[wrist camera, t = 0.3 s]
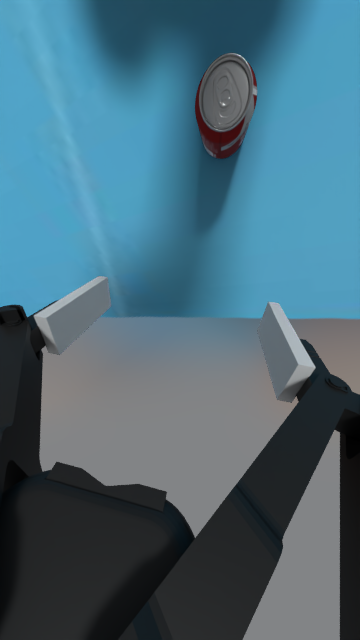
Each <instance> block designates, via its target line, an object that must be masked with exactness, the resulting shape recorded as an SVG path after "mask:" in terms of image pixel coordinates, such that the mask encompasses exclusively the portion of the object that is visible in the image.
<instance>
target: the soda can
mask: <svg viewBox="0 0 360 640" xmlns="http://www.w3.org/2000/svg"><path fill="white" fill-rule="evenodd" d="M256 100H257V83H256V78H255V74H254V72H253V69H252V67H251V66H250V64H249V63H248V62H247V61H246V60H245V59H244V58H243V57H242V56H240V55H238V54H236V53H227V54H224V55H222V56H220V57H218V58H217V59H216V60H215V61H214V62H213V63H212V64H211V65H210V66H209V68H208V69H207V70H206V72H205V74H204V75H203V77H202V79H201V81H200V84H199V87H198V90H197V94H196V101H195V114H196V120H197V123H198V127H199V130H200V134H201V137H202V141H203V144H204V147H205V149H206V151H207V152H208V153H209V154H210V155H211V156H213V157H215V158H218V159H223V158H227V157H229V156H231V155H232V154H234V153H235V152H236V151H237V150H238V148H239V147H240V145H241V144H242V142H243V140H244V137H245V134H246V132H247V129H248V126H249V123H250V121H251V118H252V115H253V112H254V109H255V105H256Z"/></svg>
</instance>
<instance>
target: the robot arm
mask: <svg viewBox="0 0 360 640" xmlns="http://www.w3.org/2000/svg"><path fill="white" fill-rule="evenodd" d="M110 307H111V300H110V292H109V285H108V277H103V276H98V277H96V278H95V279H93V280H92V281H90V282H88V283H87V284H85V285H83V286H82V287H80V288H78V289H77V290H75V291H73V292H72V293H70V294H68V295H67V296H65V297H64V298H62V299H60V300H57V301H55V302H53V303H51V304H49V305H48V306H46V307H44V308H43V309H41V310H39V311H37V312H36V313H34V314H32V315H31V316H29V317H27V316H26V314H25V311H24V309H23V307H22V306H20V305H8V306H3V307H0V640H242V639H243V637H244V635H245V633H246V631H247V628H248V626H249V624H250V622H251V620H252V617H253V615H254V613H255V611H256V609H257V607H258V604H259V602H260V600H261V598H262V596H263V594H264V592H265V589H266V587H267V585H268V583H269V581H270V579H271V576H272V574H273V572H274V570H275V568H276V566H277V563H278V561H279V558H280V556H281V553H282V549H283V543H282V539H283V536H284V533H285V531H286V529H287V527H288V525H289V523H290V521H291V519H292V516H293V514H294V512H295V510H296V508H297V506H298V504H299V502H300V500H301V497H302V496H303V494H304V491H305V489H306V487H307V485H308V483H309V481H310V479H311V477H312V475H313V473H314V471H315V469H316V466H317V465H318V463H319V461H320V458H321V456H322V454H323V452H324V450H325V448H326V446H327V444H328V442H329V440H330V438H331V436H332V434H333V432H334V430H337V431H338V432H340V640H360V395H359V394H356V393H354V392H352V391H351V389H350V387H349V386H348V385H347V384H346V383H345V382H344V381H343V380H341V379H340V378H338V377H336V376H334V375H332V374H330V373H329V371H328V369H327V368H326V366H325V365H324V363H323V362H322V360H321V359H320V358H319V356H318V354H317V353H316V351H315V349H314V348H313V346H312V345H311V344H309V343H308V342H307V341H306V340H303V339H299V338H298V336H297V334H296V333H295V331H294V329H293V327H292V326H291V324H290V322H289V320H288V319H287V317H286V315H285V313H284V312H283V310H282V308H281V307H280V305H279V303H273V302H268V304H267V306H266V309H265V312H264V314H263V317H262V320H261V322H260V325H259V327H258V330H257V332H258V335H259V339H260V342H261V346H262V349H263V353H264V356H265V360H266V363H267V367H268V370H269V374H270V377H271V380H272V384H273V388H274V391H275V394H276V398H277V400H281V401H286V402H291V403H292V401H293V400H294V398H295V397H296V396H297V399H298V401H299V402H298V404H297V405H296V406H295V408H294V409H293V411H292V412H291V413H290V414H289V416H288V417H287V418H286V420H285V421H284V423H283V424H282V425H281V426H280V428H279V429H278V430H277V432H276V433H275V434H274V436H273V437H272V438H271V440H270V441H269V442H268V444H267V445H266V446H265V448H264V449H263V450H262V451H261V453H260V454H259V455H258V457H257V458H256V459H255V461H254V462H253V463H252V465H251V466H250V467H249V469H248V470H247V471H246V473H245V474H244V475H243V477H242V478H241V479H240V480H239V482H238V483H237V484H236V486H235V487H234V488H233V489H232V491H231V492H230V493H229V495H228V496H227V497H226V498H225V500H224V501H223V502H222V504H221V505H220V506H219V508H218V509H217V510H216V512H215V513H214V514H213V516H212V517H211V518H210V520H209V521H208V522H207V524H206V525H205V526H204V528H203V529H202V530H201V532H200V533H199V534H198V536H197V537H196V538H195V537H194V535H193V532H192V530H191V528H190V526H189V524H188V523H187V521H186V520H185V518H184V516H183V515H182V514H181V513H180V512H179V510H178V509H177V508H176V507H175V506H174V505H173V504H172V503H170V502H169V501H167V500H166V493H167V492H166V491H162V490H158V489H155V488H151V487H148V486H144V485H140V484H132V485H117V486H105V485H103V484H102V483H101V482H99V481H98V480H97V479H95V478H94V477H92V476H91V475H90V474H89V473H87V472H86V471H85V470H83V469H82V468H78V467H74V466H70V465H67V464H63V463H60V462H56V463H55V465H54V467H53V468H52V470H48V471H44V472H42V469H41V465H40V460H39V449H40V419H41V389H42V362H43V353H42V351H41V349H42V348H43V347H44V346H46V347H47V350H48V352H49V353H53V354H57V355H60V354H61V353H62V352H63V351H64V350H66V349H67V347H69V346H70V345H71V344H72V343H73V342H74V341H75V340H76V339H77V338H78V337H79V336H80V335H81V334H82V333H83V332H84V331H85V330H87V329H88V328H89V327H90V326H91V325H92V324H93V323H94V322H95V321H96V320H97V319H98V318H99V317H100V316H101V315H102V314H103V313H104V312H105V311H107V310H108V309H109V308H110Z"/></svg>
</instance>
